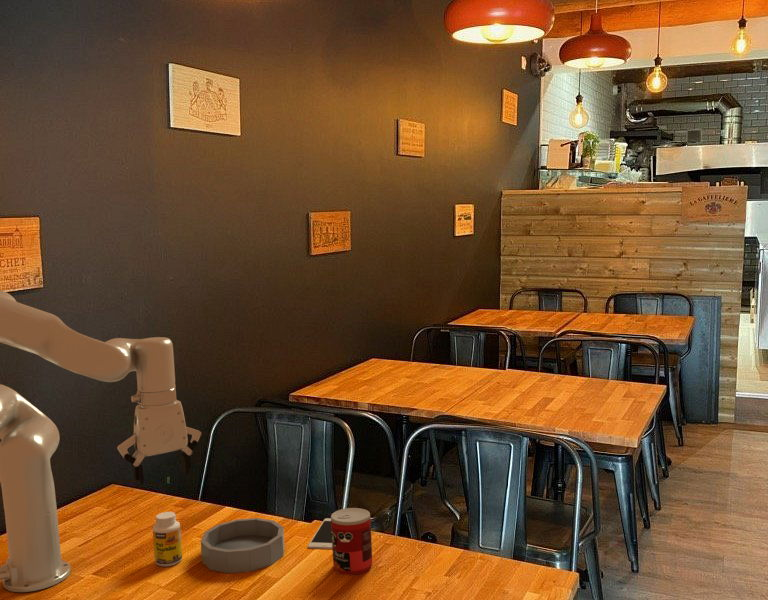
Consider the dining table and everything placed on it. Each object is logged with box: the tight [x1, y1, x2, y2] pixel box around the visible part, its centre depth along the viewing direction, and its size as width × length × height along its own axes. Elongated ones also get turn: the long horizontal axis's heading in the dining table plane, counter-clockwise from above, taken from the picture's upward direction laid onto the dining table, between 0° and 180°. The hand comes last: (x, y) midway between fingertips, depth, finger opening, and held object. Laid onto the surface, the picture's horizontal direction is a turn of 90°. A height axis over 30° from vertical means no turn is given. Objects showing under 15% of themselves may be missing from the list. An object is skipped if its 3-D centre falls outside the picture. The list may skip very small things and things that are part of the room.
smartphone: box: [307, 517, 332, 550], centre depth 171 cm, size 7×15×1 cm, turn 170°
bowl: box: [200, 517, 286, 574], centre depth 162 cm, size 17×17×4 cm
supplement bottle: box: [152, 511, 183, 568], centre depth 159 cm, size 6×6×10 cm
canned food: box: [330, 507, 373, 576], centre depth 153 cm, size 8×8×11 cm
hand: (163, 477), depth 158 cm, fingers open, 9 cm apart
